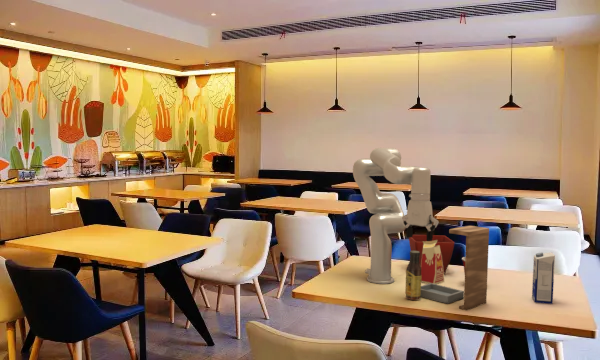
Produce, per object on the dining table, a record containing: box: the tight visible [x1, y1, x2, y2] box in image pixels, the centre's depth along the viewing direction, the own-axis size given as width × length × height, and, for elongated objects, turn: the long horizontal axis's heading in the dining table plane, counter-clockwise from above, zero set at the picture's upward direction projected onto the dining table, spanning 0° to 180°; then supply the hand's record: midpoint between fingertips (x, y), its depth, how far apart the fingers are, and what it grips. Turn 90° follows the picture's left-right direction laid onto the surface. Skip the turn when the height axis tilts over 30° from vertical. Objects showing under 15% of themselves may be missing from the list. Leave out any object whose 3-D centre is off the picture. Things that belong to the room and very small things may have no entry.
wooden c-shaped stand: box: [448, 225, 490, 311], centre depth 207 cm, size 9×15×30 cm, turn 132°
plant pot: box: [408, 234, 455, 275], centre depth 262 cm, size 19×19×17 cm
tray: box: [420, 283, 464, 305], centre depth 217 cm, size 16×12×3 cm
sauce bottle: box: [404, 250, 422, 301], centre depth 214 cm, size 6×6×20 cm
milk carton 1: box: [421, 240, 445, 285], centre depth 242 cm, size 9×9×20 cm
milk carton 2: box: [531, 252, 556, 305], centre depth 213 cm, size 7×7×20 cm
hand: (419, 238), depth 214 cm, fingers open, 9 cm apart
